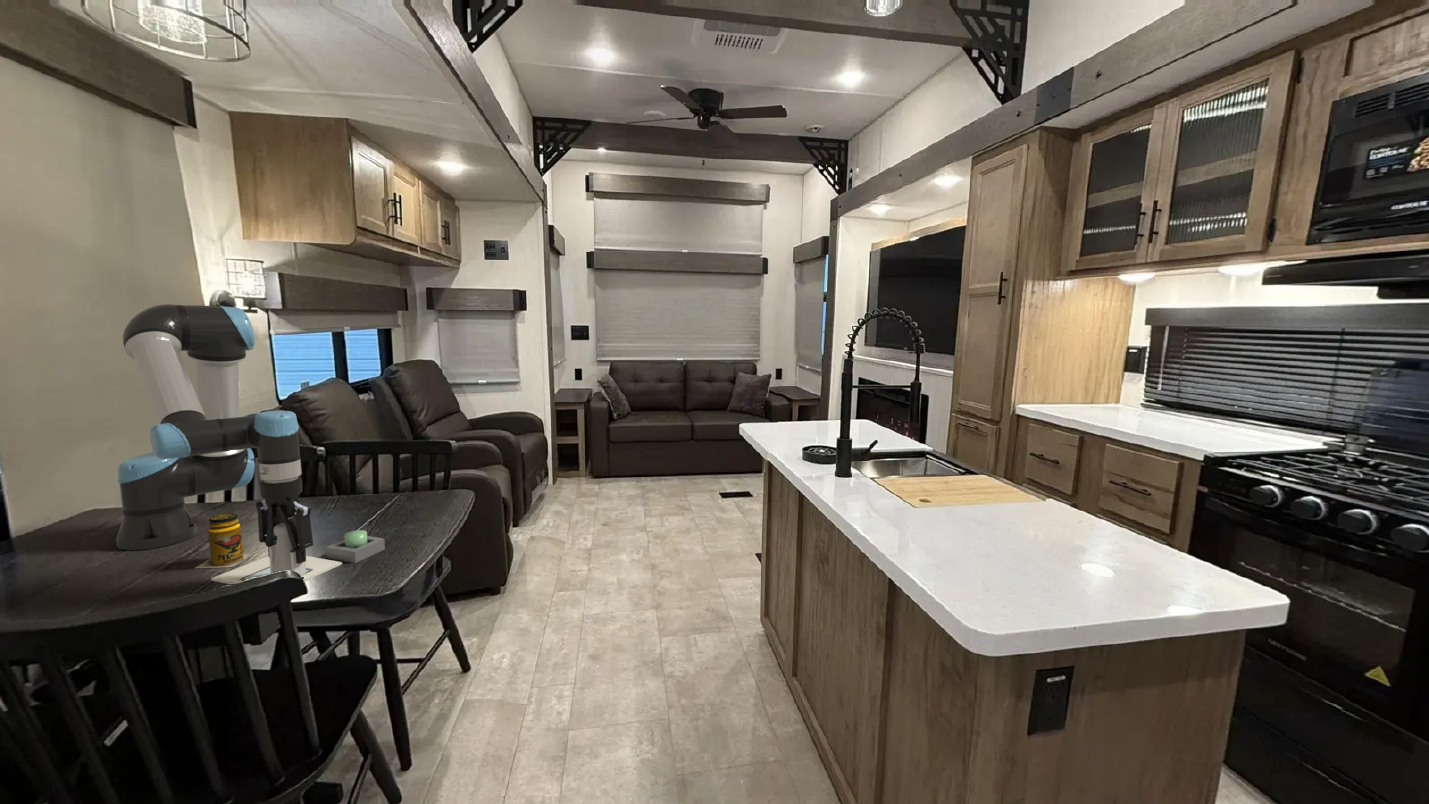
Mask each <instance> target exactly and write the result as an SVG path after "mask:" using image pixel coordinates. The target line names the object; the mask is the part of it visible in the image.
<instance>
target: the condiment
mask: <svg viewBox="0 0 1429 804" xmlns="http://www.w3.org/2000/svg"><path fill="white" fill-rule="evenodd" d="M208 520H209V528H208V530H207V533H208V543H209V553H210V557H209V558H208V559H207V560H205V561H203V562H202V563H201V564H199V565H198V566H196V567H194V569H203V568H204V569H207V568H208V569H209V568H212V569H213V568H214V569H215V568H231V567H232V568H233V567H235V566H237V565H239V564H240V563H242V562H243V561H245V560H246V559H247V558H248V557H249V556H251V555H252V553H244V547H243V546H244V545H243V537H242V526H241V524H240V523H239V519H238V514H237V513H236V512H226V513H225V512H224V513H220V514H219V513H218V514H216V515H213V516H211V517H209V519H208Z"/></svg>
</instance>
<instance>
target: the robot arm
mask: <svg viewBox="0 0 1429 804" xmlns="http://www.w3.org/2000/svg"><path fill="white" fill-rule="evenodd" d="M255 338H256V337H255V332H254V328H253V326H252V323H251V320H250V318H249V316H248V314H247V313H246V312H245V311H244V310H243V309H241V308H240V307H236V306H233V307H232V306H223V305H194V304H191V305H189V304H187V305H185V304H159V305H157V304H156V305H154V306H151V307H148V308H146V309H145V310H144V309H143V310H142V311H140V312H139V313H137V314H136V315H135V316H133V317H132V318H131V320H129V322H128V323H127V325H126V326H125V328H124V330H123V333H122V346H123V348H124V350H125V352H126V354H127V355H128V356H129V358H131V359H132V360H135V363H136V365H137V367H138V368H137V369H138V371H139V373H140V376H141V378H142V381H143V384H144V387H145V390H146V392H147V394H148V398H149V400H150V403H151V406H152V408H153V411H154V414H155V416H156V419H157V421H158V424H155V425H152V427H151V428H150V430H149V431H150V432H149V434H150V438H149V439H150V444H151V447H152V448H151V449H152V452H150V453H145V454H141V455H137V456H133V457H131V458H129V459H126V460H123V462H121V463H120V464H119V465H118V469H117V473H118V475H117V476H118V477H117V483H118V484H119V489H120V498H121V499H120V501H121V508H122V520H121V523H120V526H119V529H118V532H117V536H116V538H115V539H116V540H115V541H116V548H118V549H120V550H124V551H140V550H142V551H143V550H149V549H150V550H151V549H156V548H162V547H166V546H167V547H168V546H170V545H175V544H178V543H181V542H184V541H186V540H189V539H191V538H193V537H194V536H195V535H197V525H196V523H195V521H194V519H193V518H192V516H191V514H190V513H189V511H188V510H187V508H186V505H185V498H188V497H193V496H200V495H205V494H210V493H211V494H212V493H217V492H222V491H231V490H234V489H237V488H243V487H245V486H247V485H248V484H250V482H251V481H252V479H253V477H254V474H255V468H256V467H255V466H256V464H255V455H254V452H253V450H252V449H254V448H255V449H256V452H257V462H258V472H259V479H260V483H259V488H260V490H259V491H260V496H261V498H263V499H264V500H260V501H257V502H255V507H256V510H257V519H258V520H257V522H258V541H259V543H265V546H266V547H267V552H268V556H269V558H270V569H271V574H272V573H273V571H272V569H273V563H274V557H275V550H276V543H277V536H275V535H274V527H275V526H276V525H278V524H281V523H283V524H285V525H286V528H287V531H288V534H289V538H290V541H291V544H292V547H293V550H290V555H291V568H292V571H295V572H297V573H299V574H300V575H303V574H305V573H306V565H305V561H306V556H307V553H306V552H307V551H306V549H307V548H309V547H312V546H313V545H314V540H313V533H312V532H313V531H312V523H311V511H312V506H311V505H309V504H308V505H302V504H301V501H300V497H299V496H300V494H302V492H303V479H302V477H300V476H302V474H303V473H302V465H301V464H302V463H301V453H300V441H299V440H300V439H299V437H300V436H299V429H300V425H299V423H298V419H297V415H296V413H295V412H293V411H290V410H268V411H262V412H259V413H258V412H253V413H249V414H246V415H244V416H240V412H239V411H240V409H239V408H240V402H239V401H240V395H239V393H240V391H239V390H240V386H239V381H240V379H239V374H240V372H239V365H240V364H239V363H240V362H242V361H243V360H245V359H246V356H247V353H246V352H247V351H251V350H254V349H255V346H256V339H255ZM184 351H185V352H187V353H186V354H187V357H188V358H189V359H191V360H192V361H193V362H194V363H195V377H196V380H195V381H196V383H195V384H196V386H195V387H196V391H195V388H194V385H193V383H192V381H191V378H190V376H189V374H188V370H187V368H186V366H185V364H184V362H183V359H182V356H181V354H180V353H181V352H184Z"/></svg>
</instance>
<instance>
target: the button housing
mask: <svg viewBox="0 0 1429 804" xmlns="http://www.w3.org/2000/svg"><path fill="white" fill-rule="evenodd" d="M367 542H368V543H367V544H365V545H363V546H360V547H358V548H356V549H354V548H348V547H345V541H344V539H343V540H339V541H338V542H336V543H332V544H331V545H328V546H326V556H327V557H326V558H327V559H329V560H330V559H331V560H334V561H340V562H346V563H353V564H357V563H359V562H361V561H363V560H365V559H367V558H369V557H371V556H374V555H376V554H378V553H380V552H382V551H385V550H386V545H385V544H386V543H385V538H382V537H377V536H369V535H367Z"/></svg>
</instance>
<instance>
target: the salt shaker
mask: <svg viewBox="0 0 1429 804" xmlns="http://www.w3.org/2000/svg"><path fill="white" fill-rule="evenodd" d="M274 535H275V536H277V543H276V550H275V557H274V563H273V569H272V571H273V573H276V572H279V571H284V570H291V571H292V568H291V555H290V550H293V547H292V544H291V541H290V538H289V534H288V531H287V528H286V525H285V524H283V523H281V524H278V525H276V526H275V527H274Z"/></svg>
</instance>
